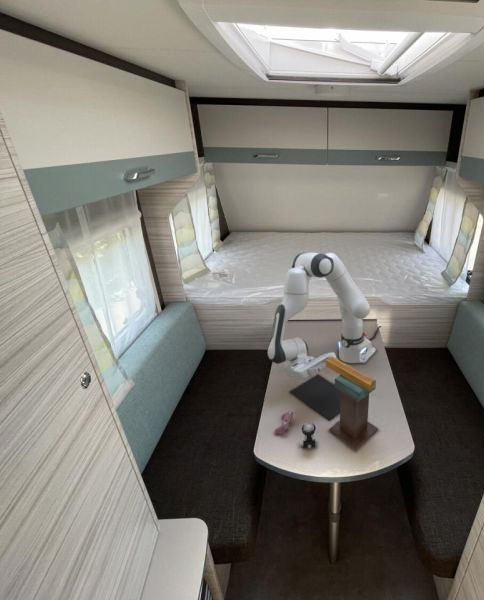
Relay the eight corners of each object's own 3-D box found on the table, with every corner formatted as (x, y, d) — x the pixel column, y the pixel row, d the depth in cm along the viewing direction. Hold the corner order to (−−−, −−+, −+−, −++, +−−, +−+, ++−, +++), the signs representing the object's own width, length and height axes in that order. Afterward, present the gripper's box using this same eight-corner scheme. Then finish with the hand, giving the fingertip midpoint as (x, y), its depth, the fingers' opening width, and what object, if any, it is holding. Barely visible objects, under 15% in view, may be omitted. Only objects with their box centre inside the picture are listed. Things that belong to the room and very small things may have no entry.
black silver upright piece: (298, 451, 124) (297, 432, 120) (299, 440, 129) (298, 421, 125) (316, 450, 125) (315, 431, 120) (316, 439, 129) (315, 420, 125)
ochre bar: (331, 362, 133) (331, 356, 132) (374, 386, 119) (375, 380, 118) (325, 366, 131) (325, 359, 129) (369, 391, 117) (369, 384, 116)
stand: (351, 413, 143) (353, 363, 132) (377, 430, 134) (381, 379, 123) (329, 431, 133) (329, 379, 123) (355, 450, 125) (357, 397, 114)
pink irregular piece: (283, 438, 132) (289, 428, 128) (273, 433, 132) (279, 422, 128) (290, 420, 140) (297, 410, 137) (281, 415, 140) (287, 405, 137)
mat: (317, 375, 167) (317, 374, 167) (356, 399, 150) (356, 398, 150) (290, 392, 155) (290, 391, 155) (329, 420, 139) (329, 419, 138)
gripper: (327, 362, 150) (346, 360, 140) (292, 383, 137) (311, 382, 126) (322, 350, 150) (341, 347, 139) (287, 369, 136) (305, 367, 126)
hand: (326, 364), depth 133 cm, fingers open, 8 cm apart
